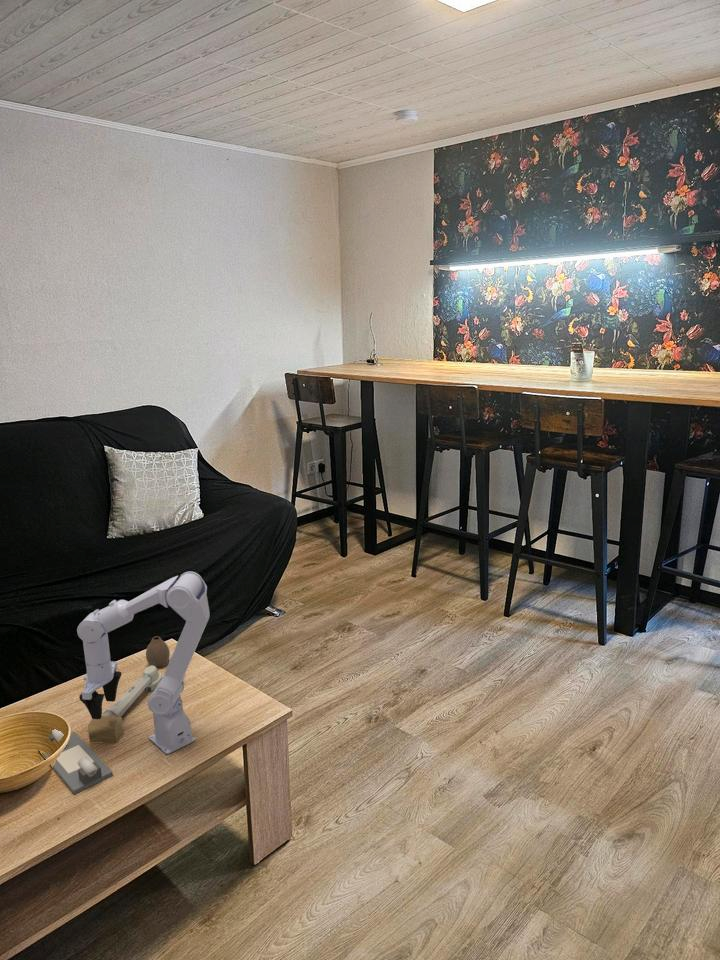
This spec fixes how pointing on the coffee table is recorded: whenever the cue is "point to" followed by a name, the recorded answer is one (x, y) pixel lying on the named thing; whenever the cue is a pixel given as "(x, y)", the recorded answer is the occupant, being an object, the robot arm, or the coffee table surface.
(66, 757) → the coupling bed
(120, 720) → the block
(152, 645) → the vase
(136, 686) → the grey long handheld tool
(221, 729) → the coffee table surface
